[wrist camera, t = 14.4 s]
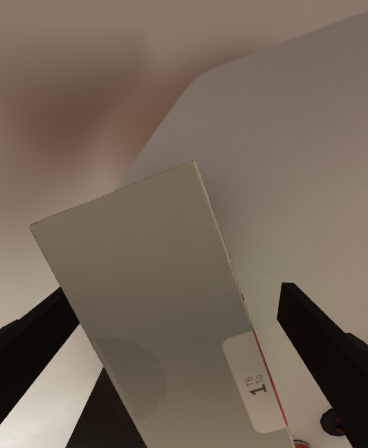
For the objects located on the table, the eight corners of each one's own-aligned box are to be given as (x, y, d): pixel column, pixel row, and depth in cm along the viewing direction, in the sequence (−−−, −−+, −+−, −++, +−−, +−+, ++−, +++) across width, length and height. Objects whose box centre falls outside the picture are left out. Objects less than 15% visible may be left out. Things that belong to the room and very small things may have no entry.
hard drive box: (226, 274, 29) (300, 461, 10) (179, 289, 30) (160, 490, 10) (191, 176, 26) (196, 157, 7) (141, 196, 27) (12, 229, 7)
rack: (127, 289, 30) (-17, 535, 9) (241, 293, 30) (368, 562, 9) (132, 393, 34) (43, 721, 13) (231, 398, 34) (300, 745, 13)
